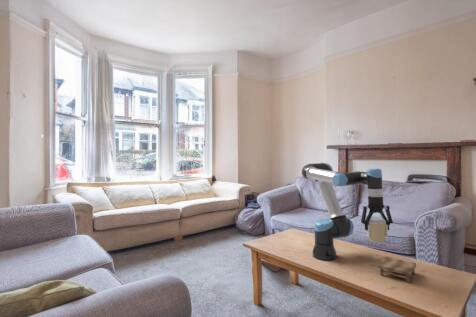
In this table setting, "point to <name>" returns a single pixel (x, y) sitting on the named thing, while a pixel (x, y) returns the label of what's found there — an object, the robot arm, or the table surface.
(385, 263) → the footstool
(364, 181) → the robot arm
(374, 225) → the coffee cup
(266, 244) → the table surface
